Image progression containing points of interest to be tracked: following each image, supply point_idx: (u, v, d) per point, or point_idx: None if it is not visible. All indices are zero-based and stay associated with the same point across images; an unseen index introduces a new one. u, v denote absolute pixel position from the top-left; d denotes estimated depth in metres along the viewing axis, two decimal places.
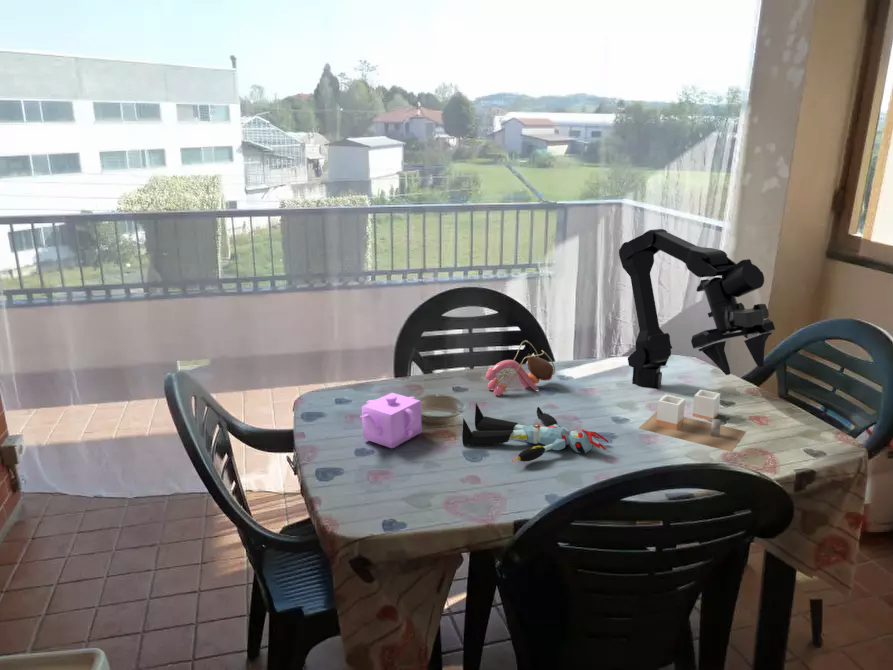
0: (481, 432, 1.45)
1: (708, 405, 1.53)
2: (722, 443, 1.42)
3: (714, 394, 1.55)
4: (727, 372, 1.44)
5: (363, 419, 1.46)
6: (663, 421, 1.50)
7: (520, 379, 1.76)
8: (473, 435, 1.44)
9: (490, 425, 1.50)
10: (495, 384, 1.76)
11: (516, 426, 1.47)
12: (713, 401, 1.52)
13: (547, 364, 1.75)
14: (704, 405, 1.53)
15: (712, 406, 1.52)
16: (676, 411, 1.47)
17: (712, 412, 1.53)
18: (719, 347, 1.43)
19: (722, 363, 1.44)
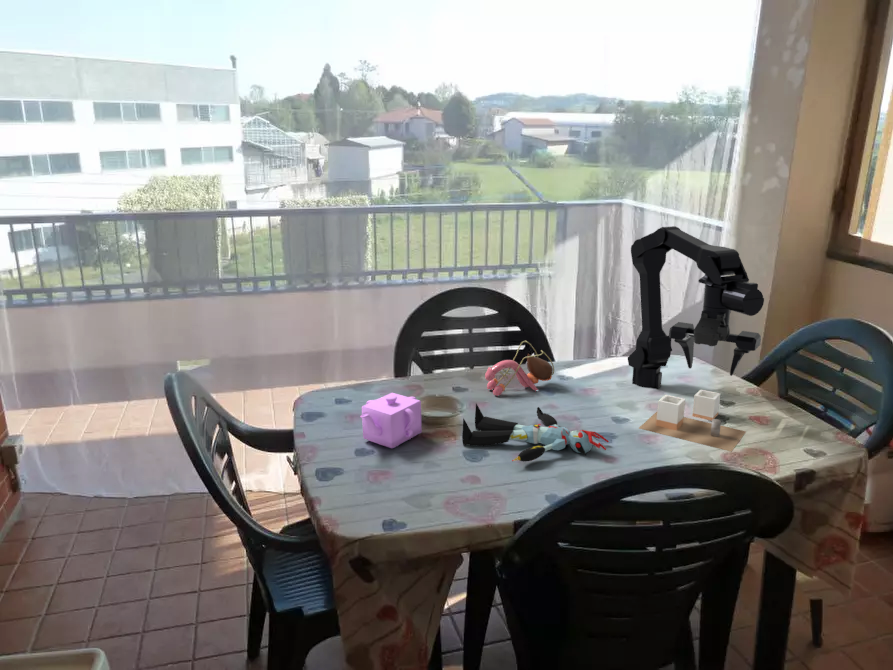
0: (481, 432, 1.45)
1: (708, 405, 1.53)
2: (722, 443, 1.42)
3: (714, 394, 1.55)
4: None
5: (363, 419, 1.46)
6: (663, 421, 1.50)
7: (519, 379, 1.76)
8: (473, 435, 1.44)
9: (490, 425, 1.50)
10: (494, 384, 1.75)
11: (516, 426, 1.47)
12: (713, 401, 1.52)
13: (546, 364, 1.75)
14: (704, 405, 1.53)
15: (712, 406, 1.52)
16: (676, 411, 1.47)
17: (712, 412, 1.53)
18: (681, 344, 1.53)
19: None
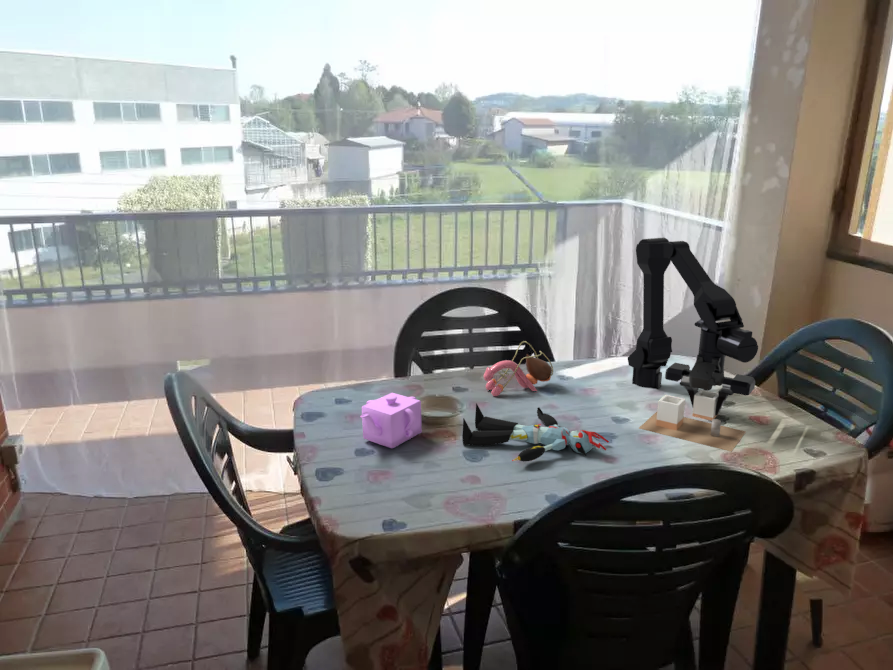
0: (481, 432, 1.45)
1: (708, 405, 1.53)
2: (722, 443, 1.42)
3: (714, 394, 1.55)
4: None
5: (363, 419, 1.46)
6: (663, 421, 1.50)
7: (518, 380, 1.75)
8: (473, 435, 1.44)
9: (490, 425, 1.50)
10: (493, 384, 1.75)
11: (516, 426, 1.47)
12: (713, 401, 1.52)
13: (545, 365, 1.74)
14: (704, 405, 1.53)
15: (712, 406, 1.52)
16: (676, 411, 1.47)
17: (712, 412, 1.53)
18: (686, 387, 1.55)
19: None
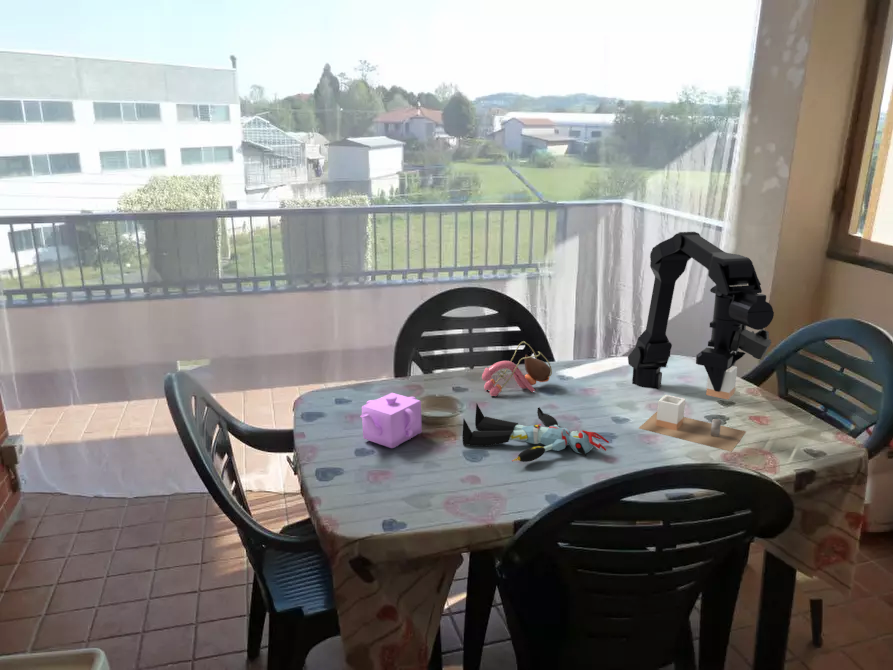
0: (481, 432, 1.45)
1: (734, 376, 1.41)
2: (722, 443, 1.42)
3: None
4: (718, 389, 1.40)
5: (363, 419, 1.46)
6: (663, 421, 1.50)
7: (517, 380, 1.75)
8: (473, 435, 1.44)
9: (490, 425, 1.50)
10: (492, 385, 1.75)
11: (516, 426, 1.47)
12: (736, 369, 1.42)
13: (544, 365, 1.74)
14: (733, 378, 1.41)
15: None
16: (676, 411, 1.47)
17: (735, 381, 1.43)
18: None
19: (718, 381, 1.39)
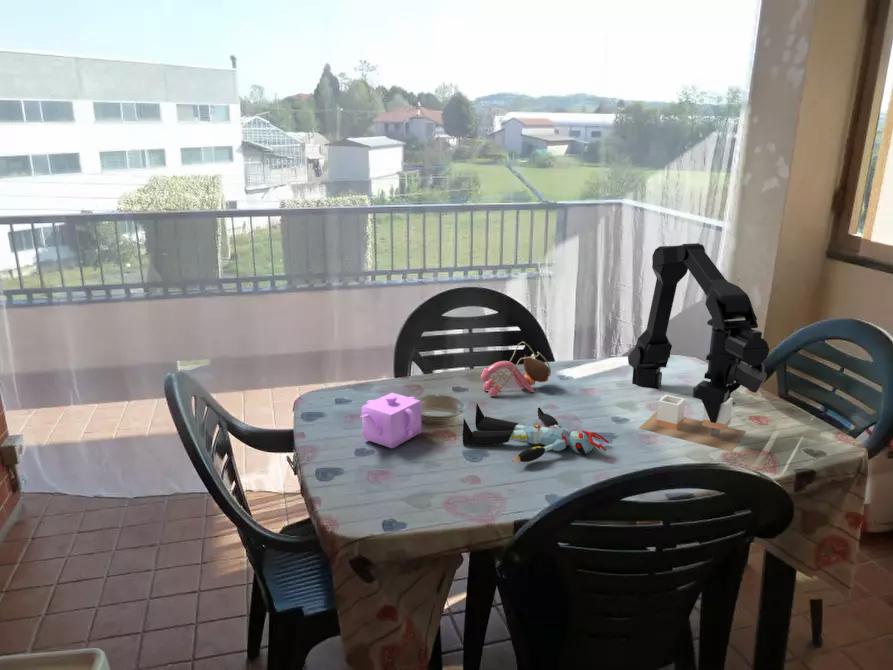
0: (481, 432, 1.45)
1: (730, 407, 1.43)
2: (722, 443, 1.42)
3: None
4: (714, 421, 1.42)
5: (363, 419, 1.46)
6: (663, 421, 1.50)
7: (516, 380, 1.75)
8: (473, 435, 1.44)
9: (491, 425, 1.50)
10: (491, 385, 1.75)
11: (516, 426, 1.47)
12: (732, 400, 1.44)
13: (543, 366, 1.74)
14: (729, 409, 1.43)
15: (731, 406, 1.44)
16: (676, 411, 1.47)
17: None
18: None
19: (714, 412, 1.41)
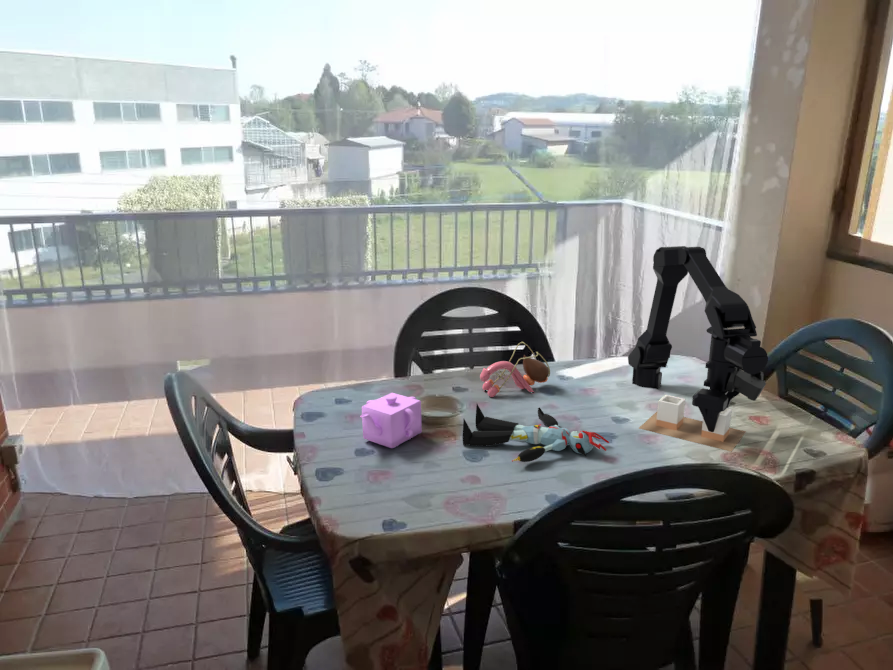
0: (481, 432, 1.45)
1: (729, 418, 1.44)
2: (722, 443, 1.42)
3: None
4: (712, 430, 1.42)
5: (363, 419, 1.46)
6: (663, 421, 1.50)
7: (515, 381, 1.75)
8: (473, 435, 1.44)
9: (491, 425, 1.50)
10: (490, 385, 1.75)
11: (517, 426, 1.47)
12: (731, 411, 1.44)
13: (542, 366, 1.73)
14: (728, 420, 1.43)
15: (730, 417, 1.45)
16: (676, 411, 1.47)
17: None
18: (721, 411, 1.38)
19: (712, 422, 1.41)
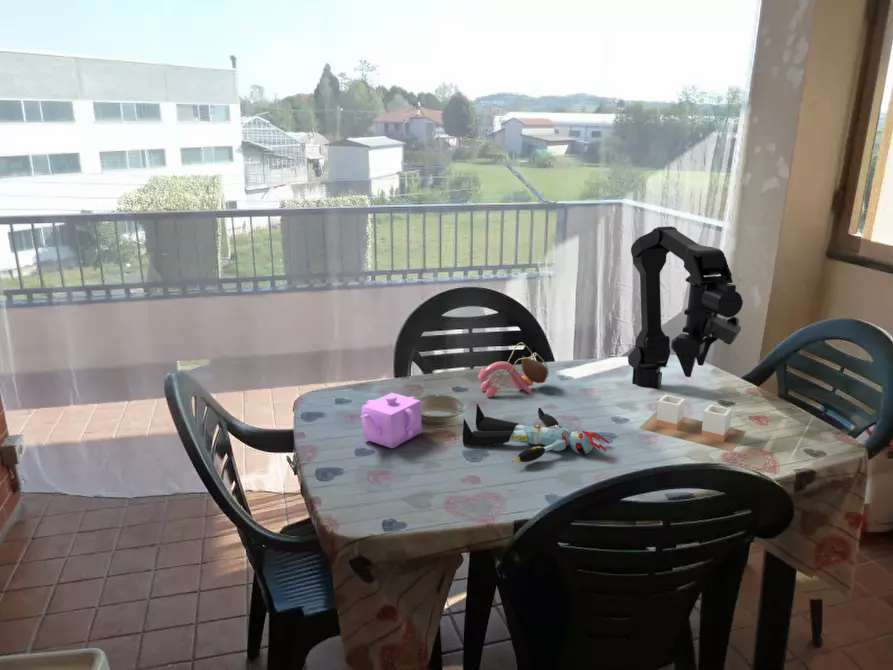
0: (481, 432, 1.45)
1: (729, 418, 1.44)
2: (722, 443, 1.42)
3: (711, 407, 1.46)
4: (689, 375, 1.49)
5: (363, 419, 1.46)
6: (663, 421, 1.50)
7: (513, 381, 1.74)
8: (473, 435, 1.44)
9: (491, 425, 1.50)
10: (488, 385, 1.75)
11: (517, 426, 1.47)
12: (731, 411, 1.44)
13: (541, 366, 1.73)
14: (728, 420, 1.43)
15: (730, 417, 1.45)
16: (676, 411, 1.47)
17: None
18: (697, 356, 1.45)
19: (689, 367, 1.48)
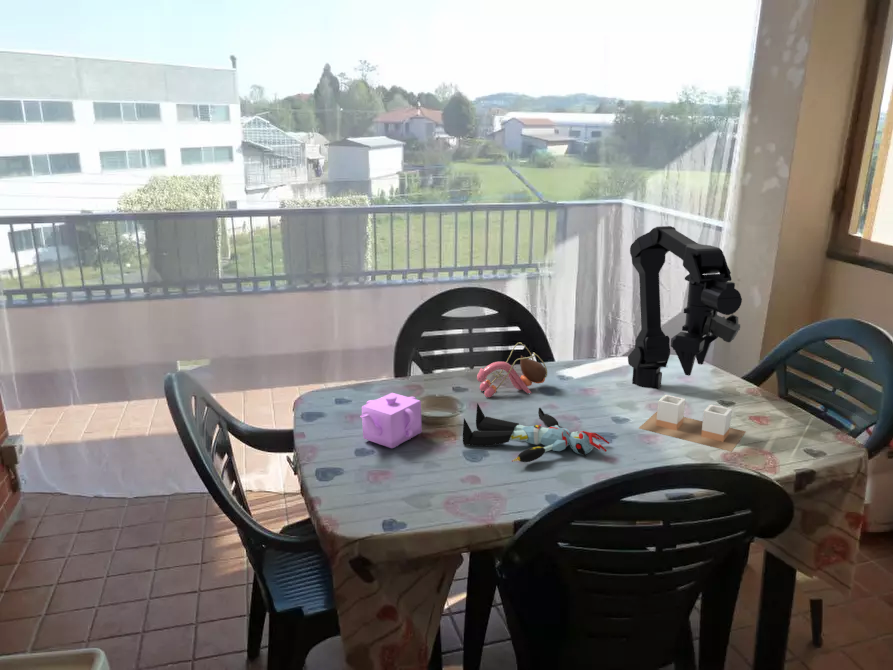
0: (482, 432, 1.44)
1: (729, 418, 1.44)
2: (722, 443, 1.42)
3: (711, 407, 1.46)
4: (688, 373, 1.49)
5: (363, 419, 1.46)
6: (663, 421, 1.50)
7: (512, 381, 1.74)
8: (473, 435, 1.44)
9: (491, 425, 1.50)
10: (487, 386, 1.75)
11: (517, 426, 1.47)
12: (731, 411, 1.44)
13: (540, 367, 1.73)
14: (728, 420, 1.43)
15: (730, 417, 1.45)
16: (676, 411, 1.47)
17: None
18: (697, 354, 1.45)
19: (689, 365, 1.48)
